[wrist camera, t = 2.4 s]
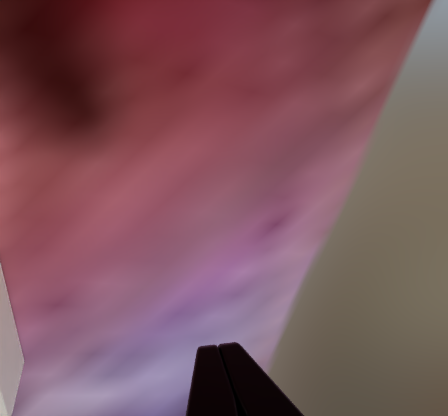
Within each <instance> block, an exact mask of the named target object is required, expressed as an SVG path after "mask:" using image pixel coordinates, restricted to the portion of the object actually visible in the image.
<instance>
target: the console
mask: <svg viewBox="0 0 448 416" xmlns="http://www.w3.org/2000/svg"><path fill="white" fill-rule="evenodd" d="M23 365H24V358H23V354H22V350H21V346H20V341H19V337H18V333H17V329H16V325H15V321H14V317H13V313H12V309H11V304H10V300H9V296H8V292H7V288H6V284H5V280H4V276H3V272H2V267H1V263H0V416H12V412H13V408H14V404H15V399H16V395H17V391H18V386H19V382H20V378H21V374H22V369H23Z"/></svg>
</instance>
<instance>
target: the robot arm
mask: <svg viewBox="0 0 448 416" xmlns="http://www.w3.org/2000/svg"><path fill="white" fill-rule="evenodd" d="M186 416H304V415H303V414H302V413H301V412H300V411H299V409H298V408H297V407H296V406H295V405H294V404H293V403H292V402H291V401H290V399H289V398H288V397H287V396H286V395H285V394H284V393H283V392H282V391H281V389H280V388H279V387H278V386H277V385H276V384H275V383H274V382H273V381H272V380H271V379H270V377H269V376H268V375H267V374H266V373H265V372H264V371H263V370H262V368H261V367H260V366H259V365H258V364H257V363H256V362H255V361H254V360H253V358H252V357H251V356H250V355H249V354H248V353H247V352H246V351H245V350H244V349H243V347H242V346H241V345H240V344H239V343H236V342H232V343H224V344H220V345H218V347H217V345H207V346H200V347H198V349H197V353H196V359H195V365H194V371H193V376H192V382H191V388H190V394H189V399H188V405H187V411H186Z"/></svg>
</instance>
